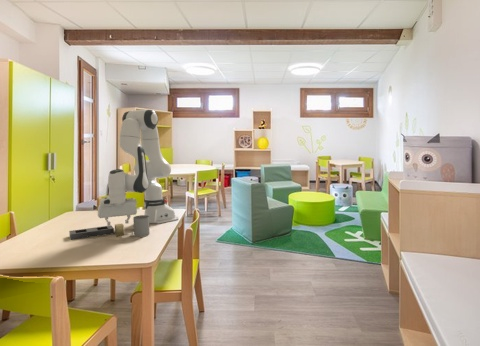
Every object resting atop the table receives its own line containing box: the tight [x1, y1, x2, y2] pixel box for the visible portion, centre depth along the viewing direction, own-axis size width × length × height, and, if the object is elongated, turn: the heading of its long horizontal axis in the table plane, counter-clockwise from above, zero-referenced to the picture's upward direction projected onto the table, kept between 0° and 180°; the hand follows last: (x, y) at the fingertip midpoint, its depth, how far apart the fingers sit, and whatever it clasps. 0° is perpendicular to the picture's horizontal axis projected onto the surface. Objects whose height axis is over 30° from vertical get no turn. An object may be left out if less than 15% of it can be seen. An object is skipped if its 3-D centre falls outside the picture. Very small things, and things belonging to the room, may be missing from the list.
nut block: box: [114, 223, 125, 238], centre depth 188 cm, size 4×4×6 cm
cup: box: [132, 214, 151, 238], centre depth 189 cm, size 8×8×10 cm
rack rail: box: [68, 224, 115, 241], centre depth 189 cm, size 22×8×3 cm, turn 120°
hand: (118, 224), depth 187 cm, fingers open, 8 cm apart
